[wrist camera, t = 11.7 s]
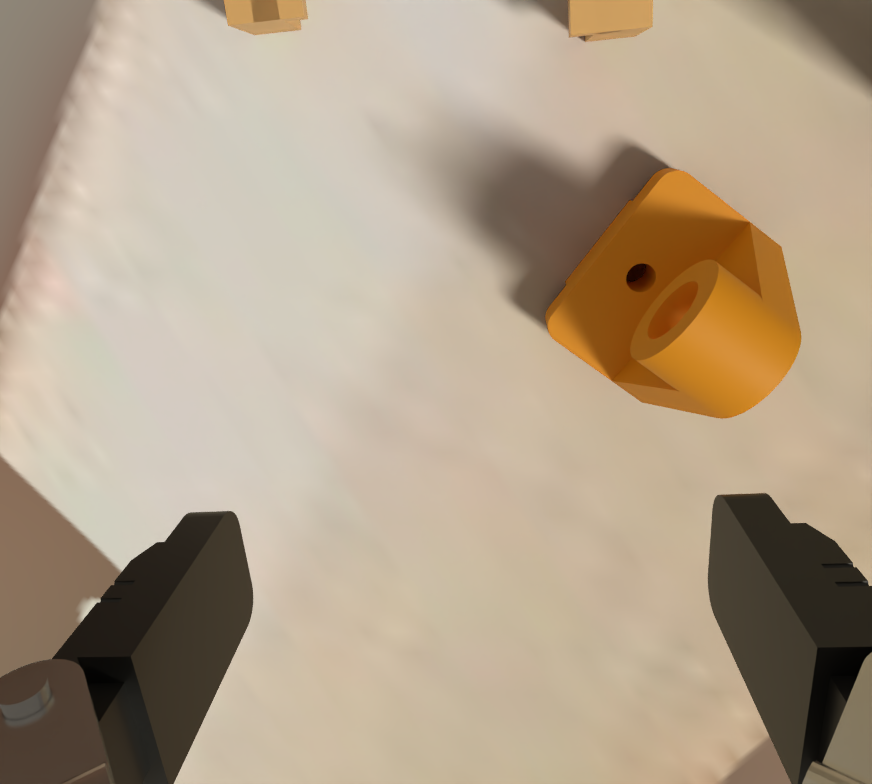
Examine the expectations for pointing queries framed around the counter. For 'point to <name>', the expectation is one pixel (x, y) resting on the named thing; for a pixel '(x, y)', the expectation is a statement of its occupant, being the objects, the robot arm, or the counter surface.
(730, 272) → the bracket
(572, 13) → the clip right
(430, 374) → the counter surface
